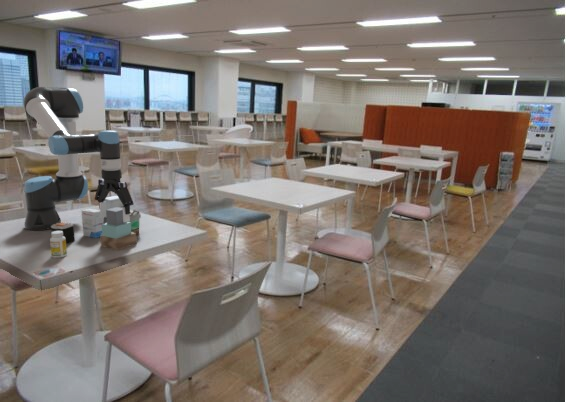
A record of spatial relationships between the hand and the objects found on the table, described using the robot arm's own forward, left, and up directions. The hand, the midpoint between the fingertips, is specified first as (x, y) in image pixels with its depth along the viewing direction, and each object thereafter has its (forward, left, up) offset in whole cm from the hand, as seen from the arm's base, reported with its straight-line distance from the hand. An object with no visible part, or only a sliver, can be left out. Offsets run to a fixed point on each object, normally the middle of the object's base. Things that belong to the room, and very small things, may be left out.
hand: (115, 219), depth 171 cm
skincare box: (-35, +30, -11) cm, 47 cm away
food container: (-4, +13, -11) cm, 18 cm away
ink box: (-18, +3, -11) cm, 22 cm away
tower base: (+1, 0, -12) cm, 12 cm away
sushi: (-22, -9, -11) cm, 26 cm away
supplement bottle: (-8, -20, -11) cm, 25 cm away
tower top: (+1, 0, -7) cm, 7 cm away
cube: (+1, 0, -2) cm, 2 cm away
